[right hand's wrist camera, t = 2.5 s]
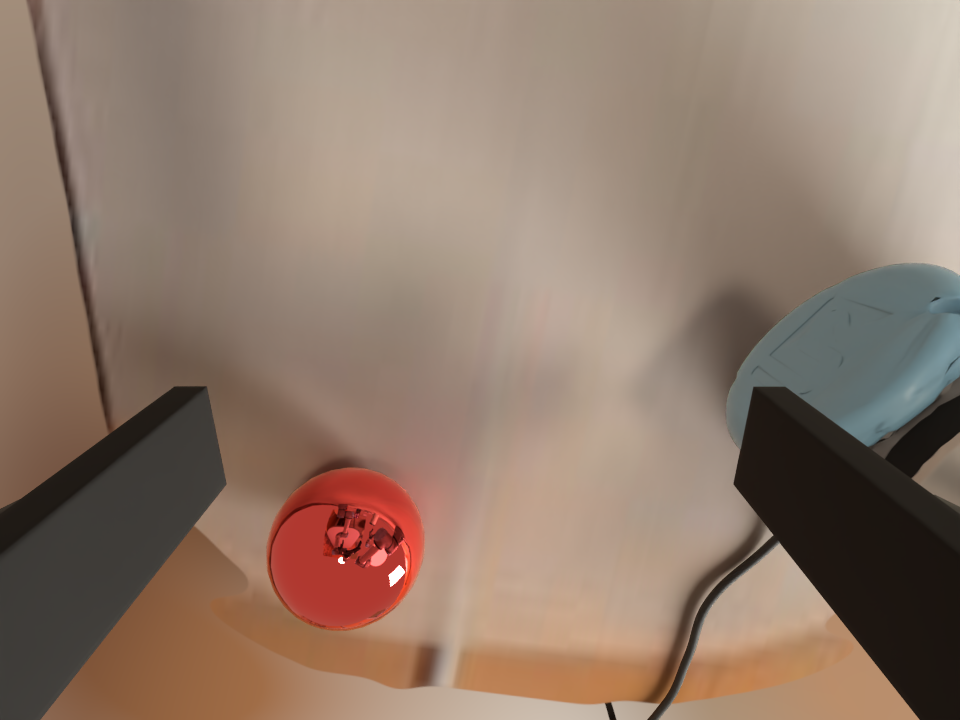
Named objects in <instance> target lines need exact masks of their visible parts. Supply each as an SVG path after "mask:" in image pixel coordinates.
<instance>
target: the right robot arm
mask: <svg viewBox="0 0 960 720" xmlns="http://www.w3.org/2000/svg"><path fill="white" fill-rule="evenodd" d="M225 485H226V479H225V474H224V469H223V464H222V459H221V455H220V450H219V445H218V440H217V435H216V430H215V425H214V420H213V415H212V410H211V405H210V400H209V395H208V391H207V387H173V388H172V389H171V390H169V391H168V392H167V393H165V394H164V395H162V396H161V397H160V398H158V399H157V400H156V401H154V402H153V403H152V404H150V405H149V406H147V407H146V408H145V409H143V410H142V411H141V412H139V413H138V414H136V415H135V416H134V417H132V418H131V419H130V420H128V421H127V422H125V423H124V424H123V425H121V426H120V427H119V428H117V429H116V430H115V431H113V432H112V433H110V434H109V435H108V436H106V437H105V438H104V439H102V440H101V441H99V442H98V443H97V444H95V445H94V446H93V447H91V448H90V449H89V450H87V451H86V452H84V453H83V454H82V455H80V456H79V457H78V458H76V459H75V460H73V461H72V462H71V463H69V464H68V465H67V466H65V467H64V468H62V469H61V470H60V471H58V472H57V473H56V474H54V475H53V476H52V477H50V478H49V479H47V480H46V481H45V482H43V483H42V484H41V485H39V486H38V487H36V488H35V489H34V490H32V491H31V492H30V493H28V494H27V495H25V496H24V497H23V498H21V499H19V500H17V501H15V502H13V503H11V504H9V505H7V506H5V507H3V508H1V509H0V720H40V719H41V718H42V717H43V716H44V714H45V713H46V712H47V710H48V709H49V708H50V707H51V705H52V704H53V703H54V702H55V700H56V699H57V698H58V697H59V695H60V694H61V693H62V692H63V690H64V689H65V688H66V686H67V685H68V684H69V683H70V681H71V680H72V679H73V678H74V676H75V675H76V674H77V673H78V671H79V670H80V669H81V667H82V666H83V665H84V664H85V662H86V661H87V660H88V659H89V657H90V656H91V655H92V654H93V652H94V651H95V650H96V649H97V647H98V646H99V645H100V644H101V642H102V641H103V640H104V638H105V637H106V636H107V635H108V633H109V632H110V631H111V630H112V628H113V627H114V626H115V625H116V623H117V622H118V621H119V620H120V618H121V617H122V616H123V614H124V613H125V612H126V611H127V609H128V608H129V607H130V606H131V604H132V603H133V602H134V601H135V599H136V598H137V597H138V595H139V594H140V593H141V592H142V590H143V589H144V588H145V587H146V585H147V584H148V583H149V582H150V580H151V579H152V578H153V577H154V575H155V574H156V573H157V571H158V570H159V569H160V568H161V566H162V565H163V564H164V563H165V561H166V560H167V559H168V558H169V556H170V555H171V554H172V552H173V551H174V550H175V549H176V547H177V546H178V545H179V544H180V542H181V541H182V540H183V539H184V537H185V536H186V535H187V534H188V532H189V531H190V530H191V528H192V527H193V526H194V525H195V523H196V522H197V521H198V520H199V518H200V517H201V516H202V515H203V513H204V512H205V511H206V510H207V508H208V507H209V506H210V504H211V503H212V502H213V501H214V499H215V498H216V497H217V496H218V494H219V493H220V492H221V491H222V489H223V488H224V487H225ZM734 485H735V487H736V488H737V489H738V491H739V492H740V493H741V494H742V496H743V497H744V498H745V499H746V501H747V502H748V503H749V504H750V506H751V507H752V508H753V510H754V511H755V512H756V513H757V515H758V516H759V517H760V518H761V520H762V521H763V522H764V523H765V525H766V526H767V527H768V528H769V530H770V531H771V532H772V534H773V535H774V536H775V537H776V539H777V540H778V541H779V542H780V544H781V545H782V546H783V547H784V549H785V550H786V551H787V552H788V554H789V555H790V556H791V558H792V559H793V560H794V561H795V563H796V564H797V565H798V566H799V568H800V569H801V570H802V571H803V573H804V574H805V575H806V577H807V578H808V579H809V580H810V582H811V583H812V584H813V585H814V587H815V588H816V589H817V590H818V592H819V593H820V594H821V595H822V597H823V598H824V599H825V601H826V602H827V603H828V604H829V606H830V607H831V608H832V609H833V611H834V612H835V613H836V614H837V616H838V617H839V618H840V620H841V621H842V622H843V623H844V625H845V626H846V627H847V628H848V630H849V631H850V632H851V633H852V635H853V636H854V637H855V638H856V640H857V641H858V642H859V644H860V645H861V646H862V647H863V649H864V650H865V651H866V652H867V654H868V655H869V656H870V657H871V659H872V660H873V661H874V662H875V664H876V665H877V666H878V668H879V669H880V670H881V671H882V673H883V674H884V675H885V676H886V678H887V679H888V680H889V681H890V683H891V684H892V685H893V687H894V688H895V689H896V690H897V692H898V693H899V694H900V695H901V697H902V698H903V699H904V700H905V702H906V703H907V704H908V705H909V707H910V708H911V709H912V711H913V712H914V713H915V714H916V716H917V717H918V718H919V719H920V720H960V507H959V506H957V505H955V504H953V503H951V502H949V501H947V500H945V499H943V498H941V497H939V496H937V495H933V494H932V493H930V492H929V491H928V490H926V489H925V488H924V487H922V486H921V485H919V484H918V483H917V482H915V481H914V480H913V479H911V478H910V477H908V476H907V475H906V474H904V473H903V472H902V471H900V470H899V469H898V468H896V467H895V466H893V465H892V464H891V463H889V462H888V461H887V460H885V459H884V458H882V457H881V456H880V455H878V454H877V453H876V452H874V451H873V450H871V449H870V448H869V447H867V446H866V445H865V444H863V443H862V442H861V441H859V440H858V439H856V438H855V437H854V436H852V435H851V434H850V433H848V432H847V431H845V430H844V429H843V428H841V427H840V426H839V425H837V424H836V423H835V422H833V421H832V420H830V419H829V418H828V417H826V416H825V415H824V414H822V413H821V412H819V411H818V410H817V409H815V408H814V407H813V406H811V405H810V404H808V403H807V402H806V401H804V400H803V399H802V398H800V397H799V396H798V395H796V394H795V393H793V392H792V391H791V390H789V389H788V388H787V387H753V391H752V395H751V400H750V405H749V410H748V415H747V420H746V425H745V430H744V435H743V440H742V445H741V450H740V455H739V459H738V464H737V469H736V474H735V479H734Z"/></svg>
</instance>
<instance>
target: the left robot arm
mask: <svg viewBox="0 0 960 720" xmlns="http://www.w3.org/2000/svg"><path fill="white" fill-rule="evenodd" d="M753 387H787V388H788V389H789V390H791V391H792V392H793V393H795V394H796V395H798V396H799V397H800V398H802V399H803V400H804V401H806V402H807V403H808V404H810V405H811V406H813V407H814V408H815V409H817V410H818V411H819V412H821V413H822V414H824V415H825V416H826V417H828V418H829V419H830V420H832V421H833V422H835V423H836V424H837V425H839V426H840V427H841V428H843V429H844V430H845V431H847V432H848V433H850V434H851V435H852V436H854V437H855V438H856V439H858V440H859V441H861V442H862V443H863V444H865V445H866V446H867V447H869V448H870V449H871V450H873V451H874V452H876V453H877V454H878V455H880V456H881V457H882V458H884V459H885V460H887V461H888V462H889V463H891V464H892V465H893V466H895V467H896V468H898V469H899V470H900V471H902V472H903V473H904V474H906V475H907V476H908V477H910V478H911V479H913V480H914V481H915V482H917V483H918V484H919V485H921V486H922V487H924V488H925V489H926V490H928V491H929V492H930V493H932V494H933V495H937V496H939V497H941V498H943V499H945V500H947V501H949V502H951V503H953V504H955V505H957V506H959V507H960V276H959V275H958V274H956V273H955V272H953V271H951V270H949V269H946V268H944V267H940V266H937V265H932V264H923V263H904V264H896V265H889V266H884V267H880V268H876V269H872V270H869V271H866V272H863V273H860V274H857V275H854V276H852V277H849V278H847V279H846V280H844V281H842V282H840V283H839V284H837V285H834V286H832V287H829V288H827V289H825V290H823V291H821V292H819V293H818V294H816V295H815V296H813V297H812V298H810V299H808V300H807V301H805V302H804V303H802V304H801V305H800V306H798V307H797V308H795V309H794V310H793V311H792V312H790V313H789V314H788V315H786V316H785V317H784V318H783V319H782V320H781V321H779V322H778V323H777V324H776V325H775V326H774V327H773V328H772V329H771V330H770V331H769V332H768V333H767V334H766V335H765V336H764V337H763V338H762V339H761V340H760V341H759V342H758V343H757V345H756V346H755V347H754V348H753V350H752V351H751V352H750V353H749V355H748V356H747V358H746V359H745V361H744V362H743V364H742V365H741V367H740V369H739V370H738V372H737V378H736V379H735V381H734V383H733V384H732V386H731V388H730V391H729V394H728V398H727V403H726V423H727V428H728V431H729V434H730V436H731V437H732V439H733V441H734V442H735V444H736V445H737V446H738V448H739V449H740V450H741V445H742V440H743V435H744V430H745V425H746V420H747V415H748V410H749V405H750V400H751V395H752V391H753ZM779 543H780V542H779V541H778V540H777V539H776V537H775V536H774V535H773V536H772V537H771V538H770V539H769V540H768V541H767V542H766V543H765V544H764V545H763V546H762V547H761V548H759V549H758V550H757V551H756V552H755V553H754V554H753V555H751V556H750V557H749V558H748V559H747V560H745V561H744V562H743V563H742V564H740V565H739V566H738V567H737V568H735V569H734V570H733V571H732V572H731V573H729V574H728V575H727V576H726V577H725V578H724V579H723V580H722V581H721V582H720V583H719V584H718V585H717V586H716V587H715V588H714V589H713V590H712V591H711V593H710V594H709V595H708V596H707V598H706V599H705V601H704V602H703V604H702V605H701V607H700V609H699V611H698V613H697V616H696V618H695V621H694V624H693V627H692V631H691V635H690V639H689V642H688V646H687V648H686V651H685V654H684V656H683V659H682V661H681V664H680V666H679V669H678V672H677V674H676V677H675V680H674V682H673V684H672V687H671V689H670V690H669V692H668V694H667V695H666V697H665V698H664V700H663V701H662V702H661V704H660V705H659V706H658V707H657V709H656V710H655V711H654V712H653V714H652V715H651V716H650V717H649V718H648V720H659V718H660V717H661V716H662V715H663V714H664V712H665V711H666V710H667V709H668V707H669V706H670V705H671V703H672V702H673V700H674V699H675V697H676V695H677V694H678V692H679V690H680V688H681V685H682V683H683V680H684V678H685V675H686V672H687V670H688V667H689V665H690V662H691V660H692V657H693V655H694V652H695V650H696V646H697V643H698V639H699V636H700V632H701V629H702V625H703V623H704V620H705V618H706V616H707V614H708V612H709V610H710V608H711V607H712V605H713V604H714V602H715V601H716V600H717V599H718V597H719V596H720V595H721V594H722V593H723V592H724V591H725V590H726V589H727V588H728V587H729V586H730V585H731V584H732V583H733V582H735V581H736V580H737V579H738V578H739V577H741V576H742V575H743V574H744V573H746V572H747V571H748V570H749V569H751V568H752V567H753V566H754V565H756V564H757V563H758V562H759V561H760V560H762V559H763V558H764V557H765V556H766V555H767V554H768V553H769V552H771V551H772V550H773V549H774V548H775V547H776V546H777V545H778V544H779ZM605 705H606V709H607V712H608V716H609V720H617V719H616V716H615V713H614V709H613V706H612V703H611V702H608V703H605Z"/></svg>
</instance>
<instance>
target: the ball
mask: <svg viewBox="0 0 960 720" xmlns="http://www.w3.org/2000/svg"><path fill="white" fill-rule="evenodd" d="M424 552H425V540H424V526H423V523H422V520H421V517H420V514H419V511H418V508H417V506H416V505H415V503H414V502H413V500H412V499H411V497H410V496H409V494H408V493H407V491H406V490H404V489H403V488H402V487H401V486H400V485H399V484H398V483H397V482H396V481H394V480H393V479H391V478H389V477H387V476H386V475H384V474H382V473H380V472H376V471H373V470H369V469H366V468H354V467H348V468H341V469H334V470H330V471H328V472H325V473H323V474H320V475H317V476H315V477H313V478H311V479H310V480H308V481H307V482H306V483H304V484H303V485H302V486H300V487H299V488H298V489H296V490H295V491H294V492H293V493H292V494H291V495H290V496H289V498H288V499H287V500H286V502H285V503H284V504H283V506H282V507H281V508H280V510H279V511H278V513H277V515H276V517H275V519H274V522H273V525H272V527H271V530H270V533H269V536H268V540H267V562H266V565H267V571H268V575H269V578H270V581H271V585H272V588H273V590H274V592H275V594H276V595H277V597H278V598H279V600H280V601H281V603H282V604H283V606H284V607H285V608H286V609H287V610H288V611H290V612H291V613H292V614H293V615H294V616H295V617H296V618H298V619H300V620H301V621H303V622H305V623H306V624H308V625H311V626H314V627H317V628H319V629H325V630H331V631H347V630H353V629H357V628H362V627H365V626H368V625H370V624H372V623H374V622H376V621H378V620H380V619H382V618H384V617H385V616H386V615H387V614H389V613H390V612H391V611H392V610H394V609H395V608H396V607H397V606H398V605H399V604H400V603H401V602H402V601H403V600H404V598H405V597H406V596H407V594H408V593H409V591H410V590H411V588H412V587H413V585H414V584H415V582H416V580H417V578H418V575H419V571H420V568H421V565H422V562H423V558H424Z"/></svg>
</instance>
